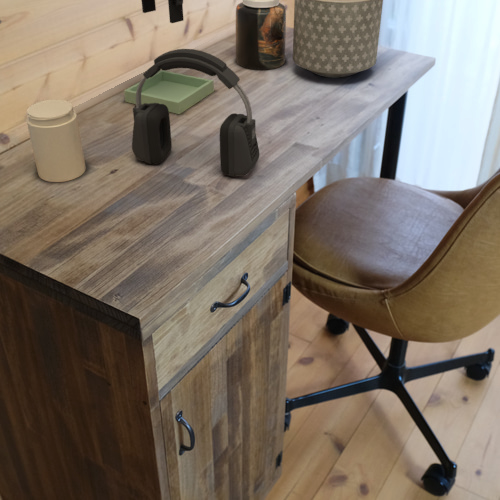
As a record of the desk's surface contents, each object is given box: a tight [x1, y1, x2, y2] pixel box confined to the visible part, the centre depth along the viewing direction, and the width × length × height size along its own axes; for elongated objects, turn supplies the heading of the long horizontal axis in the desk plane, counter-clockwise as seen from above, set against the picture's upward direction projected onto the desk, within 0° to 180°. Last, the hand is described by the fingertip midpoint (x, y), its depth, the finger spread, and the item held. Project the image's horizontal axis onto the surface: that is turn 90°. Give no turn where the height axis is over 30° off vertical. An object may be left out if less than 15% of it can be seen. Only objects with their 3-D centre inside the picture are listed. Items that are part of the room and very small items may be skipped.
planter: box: [292, 0, 384, 79], centre depth 144 cm, size 19×19×18 cm
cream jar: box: [25, 99, 87, 183], centre depth 108 cm, size 8×8×12 cm
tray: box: [123, 69, 215, 115], centre depth 137 cm, size 14×14×2 cm
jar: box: [235, 0, 287, 71], centre depth 151 cm, size 12×12×15 cm
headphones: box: [131, 48, 260, 178], centre depth 108 cm, size 22×6×20 cm, turn 72°
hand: (162, 16), depth 127 cm, fingers closed on lid, 9 cm apart
